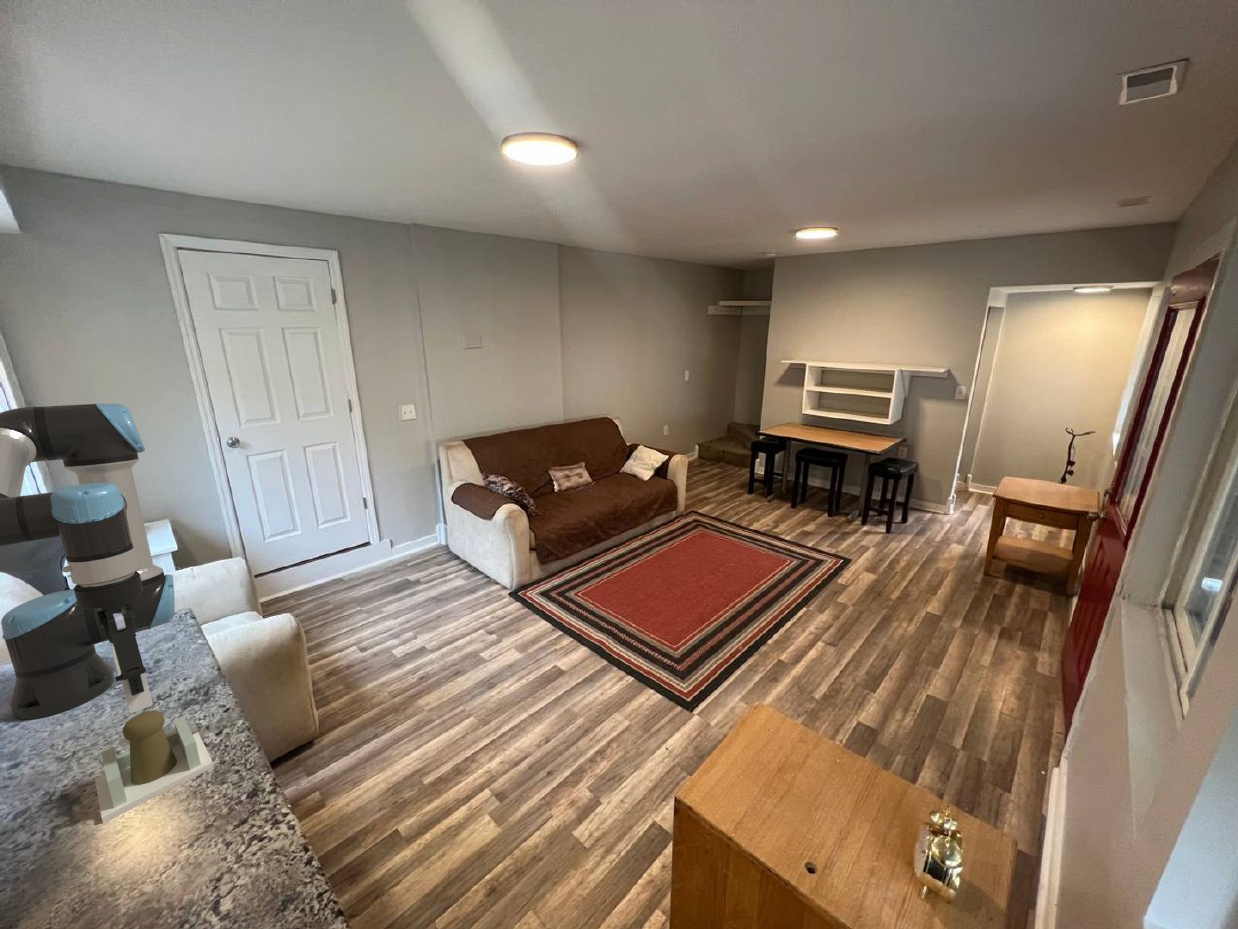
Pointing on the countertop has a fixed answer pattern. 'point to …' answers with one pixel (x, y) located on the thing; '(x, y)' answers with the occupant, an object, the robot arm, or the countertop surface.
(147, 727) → the brown rounded knob
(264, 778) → the countertop surface
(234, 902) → the countertop surface
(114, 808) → the holder
